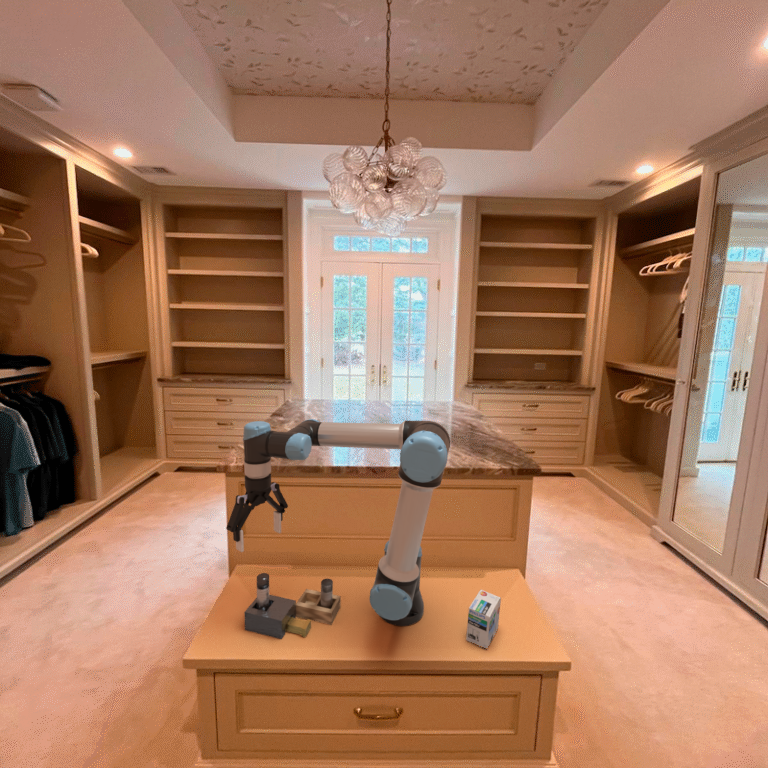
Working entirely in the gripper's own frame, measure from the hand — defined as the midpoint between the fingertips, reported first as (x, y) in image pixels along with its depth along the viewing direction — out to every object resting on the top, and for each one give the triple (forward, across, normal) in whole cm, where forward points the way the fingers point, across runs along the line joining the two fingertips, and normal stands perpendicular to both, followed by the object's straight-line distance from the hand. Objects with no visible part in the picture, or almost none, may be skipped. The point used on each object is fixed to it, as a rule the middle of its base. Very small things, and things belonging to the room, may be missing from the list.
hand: (259, 540), depth 128 cm
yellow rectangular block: (+24, -1, +12) cm, 27 cm away
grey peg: (+21, +2, +4) cm, 22 cm away
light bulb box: (+26, -37, +58) cm, 73 cm away
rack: (+24, -12, +13) cm, 30 cm away
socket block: (+24, +1, +6) cm, 25 cm away
